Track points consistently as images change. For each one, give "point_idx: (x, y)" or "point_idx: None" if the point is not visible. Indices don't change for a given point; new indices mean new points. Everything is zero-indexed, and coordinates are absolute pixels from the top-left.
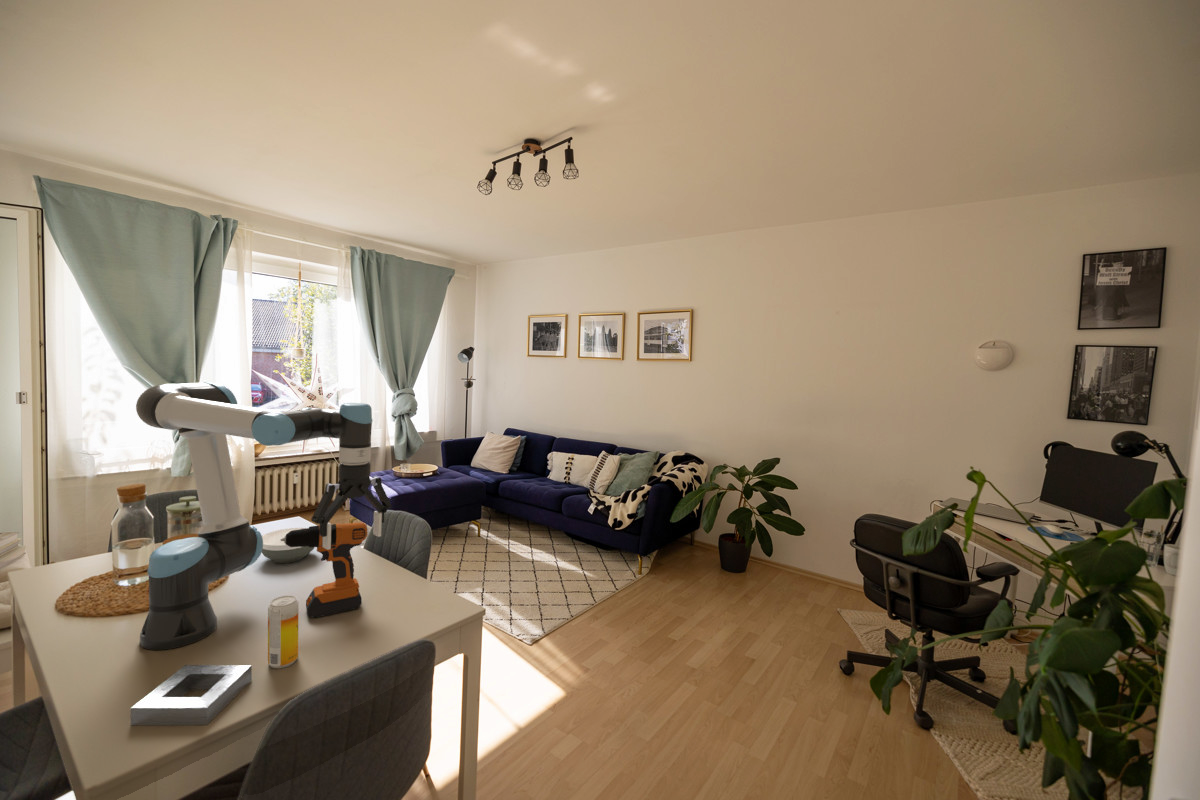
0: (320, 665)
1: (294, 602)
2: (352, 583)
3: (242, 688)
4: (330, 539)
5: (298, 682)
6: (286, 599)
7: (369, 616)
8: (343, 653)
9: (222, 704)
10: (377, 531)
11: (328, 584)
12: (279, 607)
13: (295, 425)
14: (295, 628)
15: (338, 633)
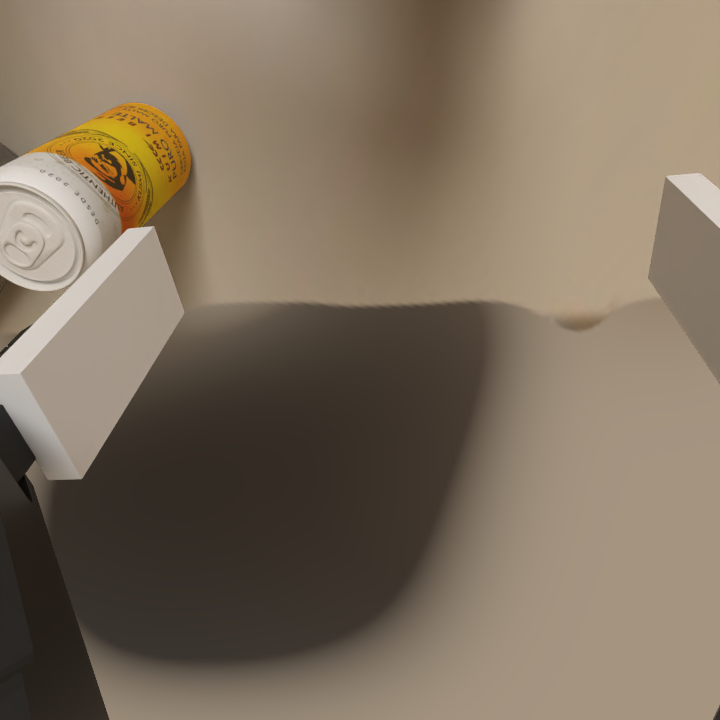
0: (248, 250)
1: (77, 277)
2: None
3: None
4: (149, 365)
5: (181, 290)
6: (40, 219)
7: (529, 4)
8: (324, 233)
9: (1, 282)
10: (670, 281)
11: None
12: (17, 279)
13: None
14: None
15: (358, 73)
